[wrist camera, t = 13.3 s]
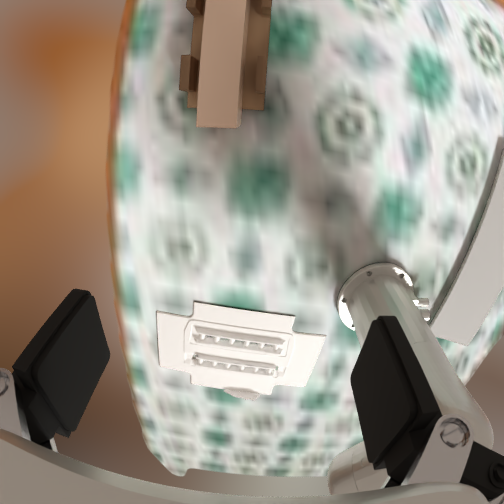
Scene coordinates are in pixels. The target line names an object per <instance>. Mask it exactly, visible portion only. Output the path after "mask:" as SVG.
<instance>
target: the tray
mask: <svg viewBox="0 0 504 504" xmlns="http://www.w3.org/2000/svg"><path fill="white" fill-rule="evenodd" d="M294 319H295V317H292V316H284V315H277V314H269V313H262V312H254V311H247V310H240V309H233V308H227V307H221V306H215V305H208V304H202V303H196V302H194V309H193V315H192V316H189V317H188V316H182V315H176V314H171V313H166V312H161V311H157V331H158V347H159V362H160V367H164V368H169V369H174V370H179V371H184V372H188V373H190V374H191V384H196V385H201V386H207V387H213V388H219V389H226V390H224V392H227V394H228V393H229V394H230V395H231V396H234V397H237V398H238V397H240V398H242V397H243V398H244V399H245V400H248V399H251V400H252V401H254V400H256V399H257V396H258V397H259V396H260V394H268V395H270V394H271V392H272V389H273V386H275V385H287V386H300V387H305V386H306V384H307V382H308V379H309V377H310V375H311V372H312V370H313V368H314V365H315V363H316V361H317V358H318V356H319V353H320V351H321V348H322V346H323V343H324V341H325V338H326V335H318V334H308V333H299V332H294V331H293V330H292V326H293V323H294ZM206 335H208V336H214V338H211V337H206ZM220 338H226V339H229V340H224V339H220ZM235 340H240V341H244V342H237V341H235ZM250 342H254V343H258V344H252V343H250ZM264 344H272V345H273V346H267V345H264ZM193 354H196V359H192V357H193ZM197 359H198V360H197ZM204 360H206V361H204ZM209 361H211V362H209ZM221 363H224V364H221ZM235 365H238V366H235ZM276 366H279V367H278V371H275V367H276ZM249 367H253V368H249ZM259 368H262V369H259ZM233 390H234V391H233ZM257 393H258V394H257ZM237 395H239V396H237Z"/></svg>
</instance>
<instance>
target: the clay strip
mask: <svg viewBox="0 0 504 504" xmlns="http://www.w3.org/2000/svg"><path fill="white" fill-rule="evenodd" d="M250 2H251V0H206V5H205V14H204V24H203V34H202V45H201V57H200V70H199V85H198V102H197V122H196V127H215V128H238V127H239V126H241V117H242V102H243V88H244V75H245V62H246V49H247V37H248V25H249V13H250Z"/></svg>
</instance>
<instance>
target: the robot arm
mask: <svg viewBox="0 0 504 504" xmlns="http://www.w3.org/2000/svg"><path fill="white" fill-rule="evenodd" d="M413 290H414V288H413V283H412V281H411V278H410V277H409V275H408V274H407V272H406V271H405V270H403V269H402V268H401V267H399V266H397V265H395V264H391V263H375V264H372V265H368V266H366V267H364V268H362V269H360V270H359V271H357V272H356V273H354V274H353V275H352V276H351V277H350V278H349V279H348V280H347V281H346V282H345V284H344V285H343V287H342V289H341V290H340V293H339V296H338V301H337V308H338V313H339V316H340V318H341V320H342V322H343V323H344V324H345V325H346V326H347V327H349V328H350V329H352V330H355V331H356V334H357V337H358V340H359V343H360V346H361V352H360V354H359V357H358V359H357V361H356V364H355V366H354V369H353V371H352V374H351V386H352V390H353V394H354V399H355V403H356V407H357V412H358V416H359V421H360V425H361V430H362V435H363V440H364V441H363V442H361V443H359V444H357V445H355V446H352V447H350V448H348V449H346V450H345V451H343V452H341V453H340V454H338V455H337V456H336V457H335V458H334V459H333V461H332V462H331V464H330V466H329V469H328V474H327V481H328V487H329V491H330V493H331V495H323V496H306V497H258V496H240V495H227V494H217V493H208V492H201V491H193V490H187V489H181V488H176V487H171V486H165V485H161V484H155V483H151V482H147V481H143V480H139V479H135V478H131V477H127V476H124V475H120V474H116V473H113V472H110V471H107V470H103V469H100V468H97V467H94V466H91V465H88V464H86V463H83V462H80V461H77V460H75V459H72V458H69V457H67V456H65V455H62V454H59V453H58V451H57V448H56V445H55V442H54V438H53V437H54V434H55V432H56V433H58V434H60V435H63V436H65V437H68V438H69V436H70V434H71V431H75V430H76V428H77V426H78V424H79V422H80V419H81V417H82V415H83V413H84V411H85V409H86V406H87V404H88V402H89V400H90V398H91V396H92V394H93V392H94V389H95V387H96V385H97V383H98V381H99V379H100V377H101V375H102V373H103V371H104V369H105V367H106V365H107V363H108V361H109V358H110V351H109V348H108V345H107V341H106V338H105V335H104V331H103V328H102V324H101V321H100V317H99V313H98V309H97V306H96V302H95V298H94V296H91V293H90V292H89V291H86V290H80V289H73V290H72V291H71V292H70V293H69V294H68V295H67V297H66V298H65V299H64V300H63V301H62V303H61V304H60V305H59V306H58V307H57V309H56V310H55V311H54V312H53V314H52V315H51V316H50V317H49V318H48V320H47V321H46V322H45V323H44V325H43V326H42V327H41V328H40V330H39V331H38V332H37V334H36V335H35V336H34V338H33V339H32V340H31V341H30V343H29V344H28V345H27V347H26V348H25V349H24V351H23V352H22V354H21V355H20V356H19V358H18V359H17V360H16V362H15V364H14V365H13V366H12V368H13V369H14V371H13V373H12V374H11V373H10V371H8V370H6V369H3V368H0V504H504V456H502V455H500V454H498V453H496V452H494V451H492V446H493V439H494V438H493V431H492V427H491V425H490V422H489V420H488V419H487V417H486V415H485V414H484V412H483V410H482V409H481V408H480V406H479V405H478V404H477V402H476V401H475V400H474V398H473V397H472V396H471V394H470V393H469V392H468V390H467V389H466V388H465V386H464V384H463V383H462V381H461V380H460V379H459V377H458V375H457V374H456V372H455V370H454V368H453V367H452V365H451V363H450V362H449V360H448V358H447V356H446V355H445V353H444V351H443V349H442V348H441V346H440V344H439V343H438V341H437V339H436V337H435V336H434V334H433V332H432V331H431V329H430V327H429V326H428V324H427V322H426V321H428V320H429V319H430V311H429V310H428V309H418V308H417V306H420V307H427V306H428V305H429V299H428V298H417V297H416V296H415V295H414V293H413Z"/></svg>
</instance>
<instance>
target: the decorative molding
mask: <svg viewBox="0 0 504 504" xmlns="http://www.w3.org/2000/svg"><path fill="white" fill-rule="evenodd" d="M503 286H504V149H503V151H502V155H501V159H500V163H499V166H498V170H497V173H496V177H495V180H494V183H493V186H492V189H491V192H490V195H489V198H488V201H487V204H486V207H485V210H484V212H483V215H482V218H481V220H480V223H479V225H478V228H477V231H476V233H475V235H474V238H473V240H472V243H471V245H470V247H469V250H468V252H467V254H466V256H465V258H464V261H463V263H462V265H461V267H460V269H459V271H458V273H457V275H456V277H455V279H454V281H453V283H452V285H451V287H450V289H449V291H448V293H447V295H446V297H445V299H444V301H443V302H442V304H441V306H440V308H439V310H438V311H437V313H436V315H435V317H434V318H433V320H432V322H431V324H430V325H429V327H430V329H431V331H432V332H433V334H434V336H436V337H439V338H442V339H445V340H449V341H452V342H455V343H459V344H462V345H465V346H468V345H469V343H470V342H471V340H472V339H473V337H474V336H475V334H476V333H477V331H478V330H479V328H480V327H481V325H482V323H483V322H484V320H485V318H486V317H487V315H488V313H489V312H490V310H491V308H492V307H493V305H494V303H495V301H496V299H497V298H498V296H499V294H500V292H501V290H502V288H503Z"/></svg>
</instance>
